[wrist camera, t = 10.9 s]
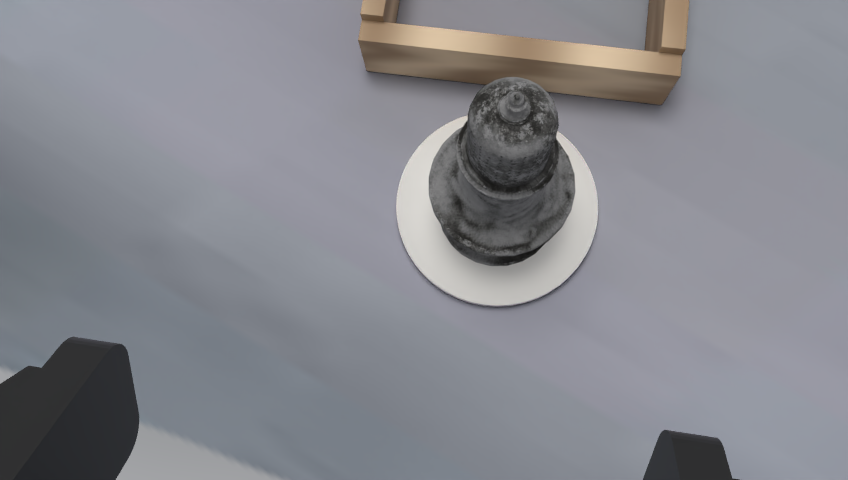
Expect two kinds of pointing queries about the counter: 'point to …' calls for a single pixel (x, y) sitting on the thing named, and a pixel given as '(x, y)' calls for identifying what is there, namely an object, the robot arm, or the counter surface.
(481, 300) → the saucer
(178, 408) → the counter surface
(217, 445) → the counter surface
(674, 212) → the counter surface
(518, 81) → the grey tall domed piece
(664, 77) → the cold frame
